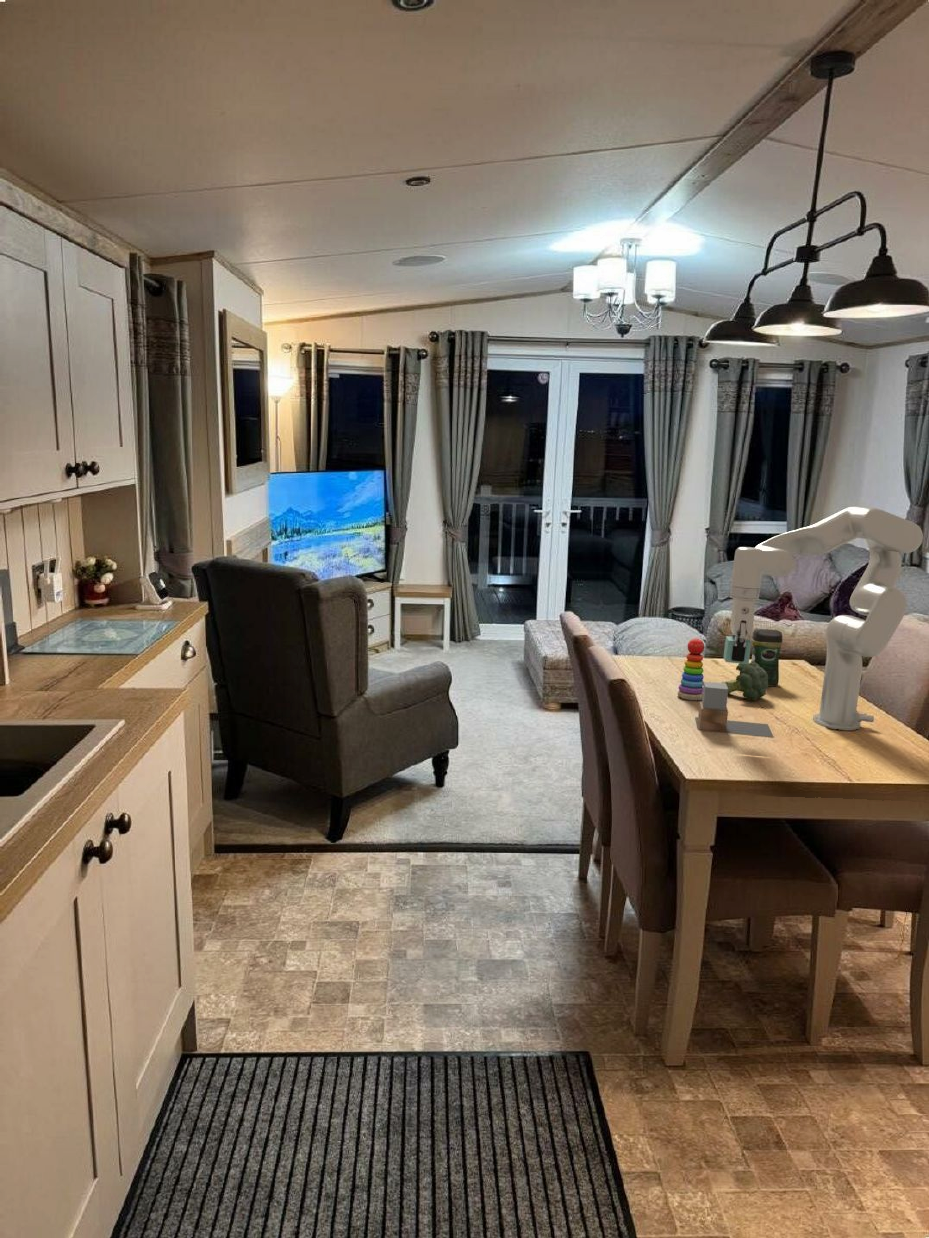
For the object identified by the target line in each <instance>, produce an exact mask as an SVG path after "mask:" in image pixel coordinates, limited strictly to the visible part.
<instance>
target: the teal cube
mask: <svg viewBox="0 0 929 1238" xmlns="http://www.w3.org/2000/svg"><path fill="white" fill-rule="evenodd" d="M737 640H738V639H737ZM734 644H735V637H732V636H730V635H729V636H728V635H725V642H724V650H723V656H722V657H723V659H724V661H725V663H730V664H731V663H733V664H749V663H750V655H751V650H752V649H751V648H752V640H751V639H750V637H748V638H747V637H746V646H745V647H746V649H745V657H744V661H743V662H741V661H732V651H733V646H734Z"/></svg>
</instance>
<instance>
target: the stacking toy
mask: <svg viewBox="0 0 929 1238" xmlns="http://www.w3.org/2000/svg"><path fill="white" fill-rule="evenodd" d="M687 650H688V652H689V653H687V654H686V660H685V661H684V665H685V666H684V667H683V669H682V670H683V672H682V674H681V677H682V678H681V679H680V684H679V685H678V691H677V697H679V698H680V697H681V698H680V699H682V700H683V699H684V700H687V701H702V695H703V685H704V682H705V681H704V674H703V673H704V668H703V666H704V663H703V660H704V656H703V654H702V653H703V652H704V651H705V643H704V642H703V641H702V640H701V639H700V638H692V639H691V640H689V642H688V643H687Z"/></svg>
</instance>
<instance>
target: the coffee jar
mask: <svg viewBox="0 0 929 1238" xmlns="http://www.w3.org/2000/svg"><path fill="white" fill-rule="evenodd" d="M751 645H752V656H751V659H750V660H751V661H750V663H757V664H758V665H759V666H760V667H762V668H763V669H764V670H765V671H766V673H767V676H768V687H772V686H773V687H776V686H778V685H779V682H780V681H779V679H780V671H779V667H780V665H779V663H780V661H779V659H780V658H779V657H780V651H781V647H783V632H782V631H780V630H778V629H769V628H766V629H765V628H764V629H763V628H762V629H761V628H758V629H757V628H756V629H753V632H752V636H751Z"/></svg>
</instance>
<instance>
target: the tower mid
mask: <svg viewBox="0 0 929 1238" xmlns="http://www.w3.org/2000/svg"><path fill="white" fill-rule="evenodd" d="M703 682H704V685H703V686H702V687H703V692H702V693H703V695H702V699H701V702H702V705H703V708H704V709H715V710H726V707H727V706H728V705H727V704H728V696H729V694H728V687H727V685H726V684H725V683H722V682H711V681H703Z"/></svg>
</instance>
